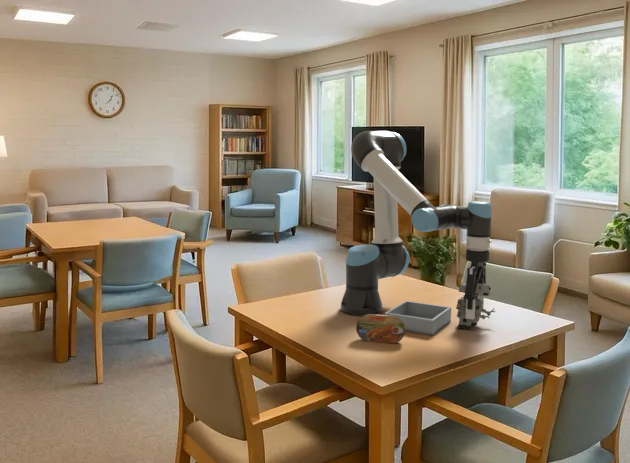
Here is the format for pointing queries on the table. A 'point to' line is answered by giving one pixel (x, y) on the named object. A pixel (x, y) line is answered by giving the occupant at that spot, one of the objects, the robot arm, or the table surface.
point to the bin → (422, 317)
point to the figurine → (481, 290)
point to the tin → (380, 328)
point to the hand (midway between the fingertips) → (474, 314)
